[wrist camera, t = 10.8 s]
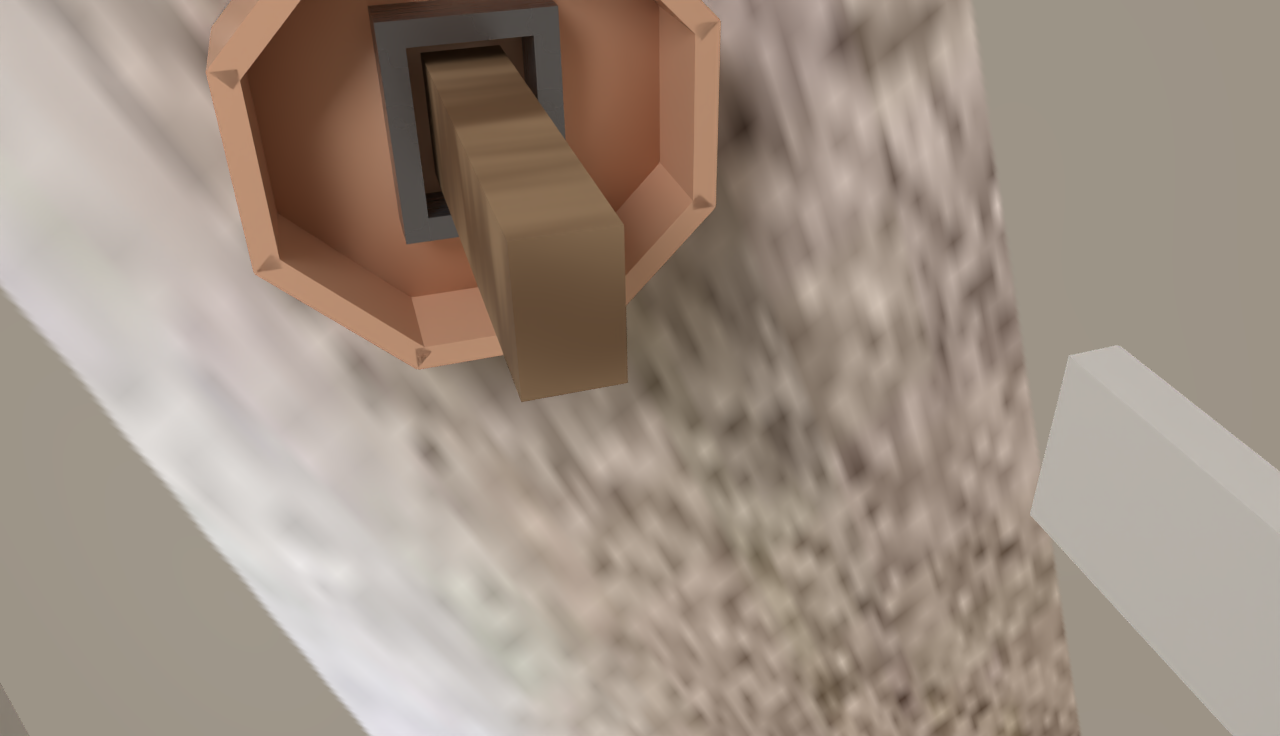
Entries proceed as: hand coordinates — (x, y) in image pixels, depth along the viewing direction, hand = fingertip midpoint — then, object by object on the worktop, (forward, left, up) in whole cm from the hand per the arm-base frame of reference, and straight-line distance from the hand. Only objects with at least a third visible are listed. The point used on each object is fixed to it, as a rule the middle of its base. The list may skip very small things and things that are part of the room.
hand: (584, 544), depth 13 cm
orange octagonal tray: (+3, +2, -25) cm, 26 cm away
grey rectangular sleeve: (+3, +2, -25) cm, 26 cm away
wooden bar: (+3, +2, -24) cm, 25 cm away
